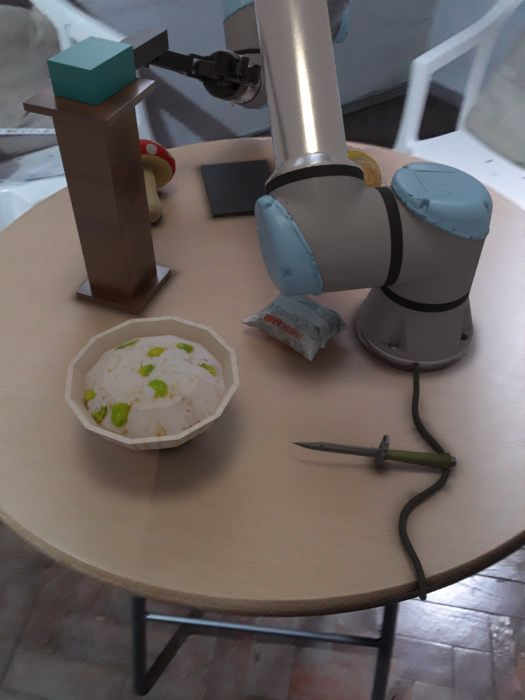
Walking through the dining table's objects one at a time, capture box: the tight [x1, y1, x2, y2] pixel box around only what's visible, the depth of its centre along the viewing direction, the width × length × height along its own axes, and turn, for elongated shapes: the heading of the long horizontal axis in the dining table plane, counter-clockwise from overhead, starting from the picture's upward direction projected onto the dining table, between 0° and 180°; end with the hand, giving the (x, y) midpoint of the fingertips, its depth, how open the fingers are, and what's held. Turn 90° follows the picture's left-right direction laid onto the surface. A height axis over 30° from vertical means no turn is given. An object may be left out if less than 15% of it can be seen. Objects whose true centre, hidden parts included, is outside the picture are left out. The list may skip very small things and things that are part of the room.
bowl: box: [64, 315, 240, 451], centre depth 77 cm, size 19×19×10 cm
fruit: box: [347, 149, 383, 188], centre depth 110 cm, size 10×11×10 cm
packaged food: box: [241, 292, 351, 362], centre depth 90 cm, size 9×12×5 cm
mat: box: [200, 158, 273, 218], centre depth 118 cm, size 16×12×1 cm
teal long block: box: [46, 24, 170, 105], centre depth 81 cm, size 18×6×4 cm, turn 153°
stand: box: [22, 77, 172, 316], centre depth 89 cm, size 11×11×29 cm
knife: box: [291, 433, 457, 471], centre depth 75 cm, size 19×2×5 cm, turn 87°
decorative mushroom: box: [139, 138, 177, 224], centre depth 111 cm, size 11×11×15 cm
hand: (173, 53), depth 94 cm, fingers open, 13 cm apart
